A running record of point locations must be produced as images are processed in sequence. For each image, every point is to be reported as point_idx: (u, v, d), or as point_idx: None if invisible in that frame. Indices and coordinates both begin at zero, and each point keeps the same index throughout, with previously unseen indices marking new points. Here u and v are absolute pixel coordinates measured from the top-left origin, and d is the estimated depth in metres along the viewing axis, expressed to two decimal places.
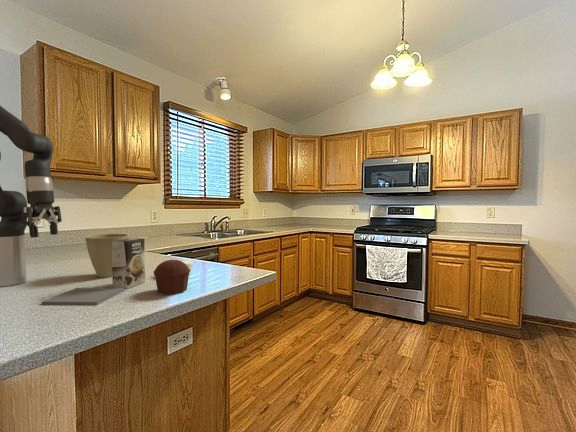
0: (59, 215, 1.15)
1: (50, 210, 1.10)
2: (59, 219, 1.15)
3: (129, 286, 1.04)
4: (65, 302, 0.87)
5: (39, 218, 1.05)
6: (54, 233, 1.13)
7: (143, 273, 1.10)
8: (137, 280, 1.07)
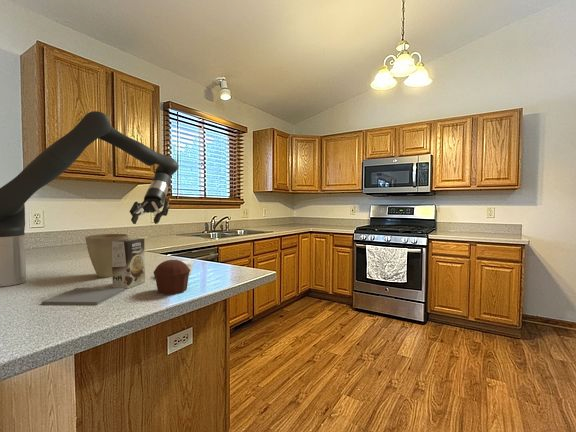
0: None
1: None
2: None
3: (129, 286, 1.04)
4: (65, 302, 0.87)
5: None
6: (135, 223, 1.19)
7: (143, 273, 1.10)
8: (137, 280, 1.07)
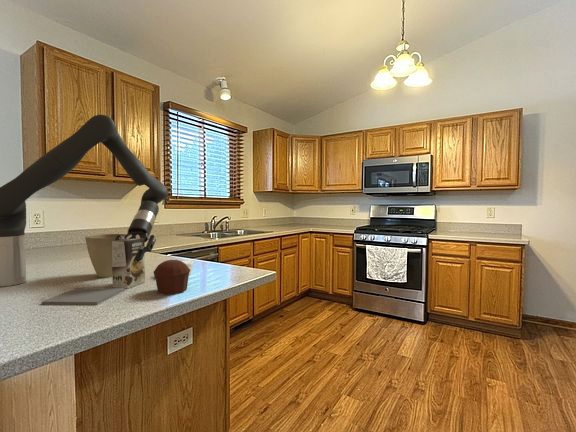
0: None
1: None
2: None
3: (129, 286, 1.04)
4: (65, 302, 0.87)
5: None
6: None
7: (143, 273, 1.10)
8: (137, 280, 1.07)
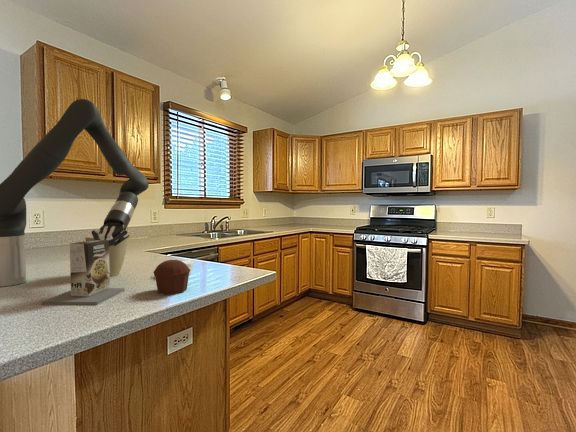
0: None
1: None
2: None
3: (90, 294, 0.92)
4: (65, 302, 0.87)
5: None
6: None
7: (107, 279, 0.99)
8: (100, 287, 0.96)
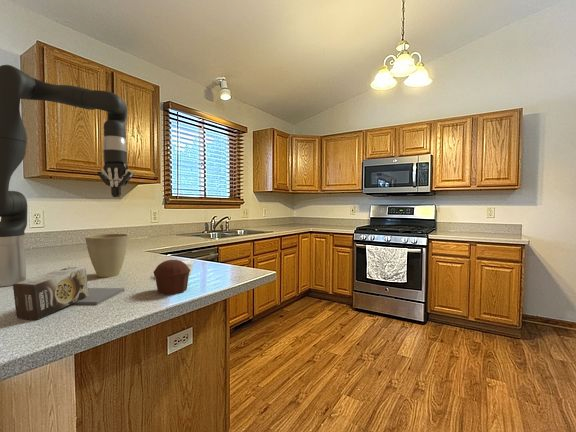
0: None
1: None
2: None
3: (86, 294, 0.90)
4: None
5: None
6: (117, 196, 1.14)
7: (76, 273, 0.87)
8: (83, 282, 0.89)
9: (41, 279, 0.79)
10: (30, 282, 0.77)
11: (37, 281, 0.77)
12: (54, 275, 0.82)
